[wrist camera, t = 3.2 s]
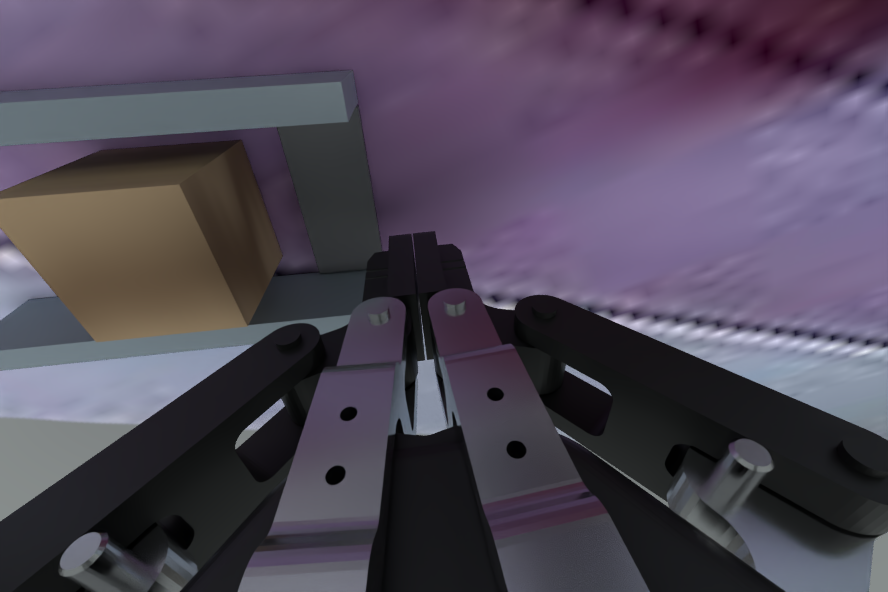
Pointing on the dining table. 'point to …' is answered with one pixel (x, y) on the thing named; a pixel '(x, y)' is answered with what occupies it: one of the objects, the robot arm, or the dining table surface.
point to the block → (148, 238)
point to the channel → (203, 110)
